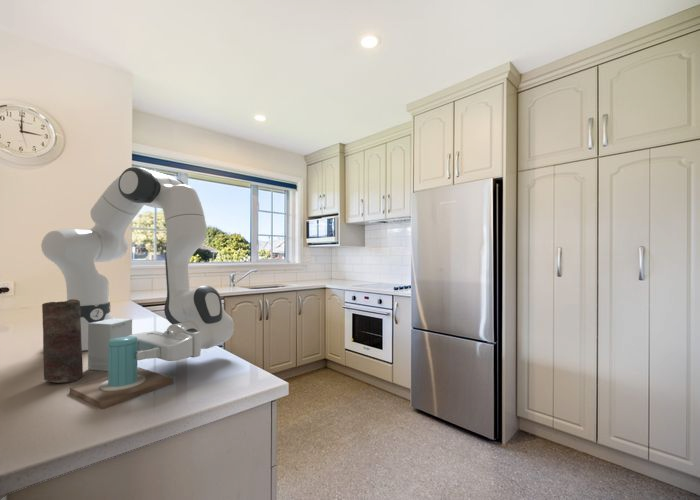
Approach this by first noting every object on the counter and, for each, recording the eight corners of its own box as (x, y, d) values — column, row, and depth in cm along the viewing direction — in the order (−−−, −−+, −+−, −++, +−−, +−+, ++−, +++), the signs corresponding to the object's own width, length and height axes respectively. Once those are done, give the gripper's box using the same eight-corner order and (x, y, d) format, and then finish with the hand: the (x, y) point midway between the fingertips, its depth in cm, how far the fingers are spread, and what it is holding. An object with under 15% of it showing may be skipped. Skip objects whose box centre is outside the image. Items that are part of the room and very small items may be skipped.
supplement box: (109, 371, 89) (109, 324, 89) (86, 369, 90) (86, 323, 90) (133, 362, 96) (133, 318, 96) (111, 360, 98) (111, 317, 98)
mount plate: (69, 392, 76) (69, 365, 76) (139, 371, 89) (139, 348, 89) (102, 408, 68) (102, 378, 68) (172, 383, 81) (172, 357, 81)
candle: (37, 388, 78) (37, 302, 78) (48, 377, 85) (48, 298, 85) (78, 382, 82) (78, 300, 82) (86, 372, 88) (85, 296, 88)
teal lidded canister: (103, 383, 78) (103, 340, 78) (129, 375, 82) (129, 335, 82) (116, 388, 75) (116, 344, 75) (142, 380, 80) (142, 338, 80)
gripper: (158, 323, 96) (103, 334, 84) (204, 332, 86) (148, 346, 74) (158, 345, 96) (103, 359, 84) (204, 357, 86) (149, 374, 74)
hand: (124, 353), depth 79 cm, fingers open, 8 cm apart
